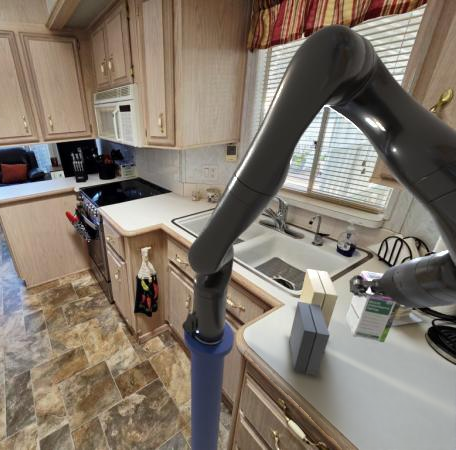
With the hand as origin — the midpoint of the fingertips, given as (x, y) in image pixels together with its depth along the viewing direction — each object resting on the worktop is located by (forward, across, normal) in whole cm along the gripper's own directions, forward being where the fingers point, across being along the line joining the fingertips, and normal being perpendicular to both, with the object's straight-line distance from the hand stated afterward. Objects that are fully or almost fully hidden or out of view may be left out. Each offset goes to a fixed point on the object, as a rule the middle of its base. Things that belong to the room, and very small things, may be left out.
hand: (372, 293), depth 55 cm
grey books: (+14, +10, +17) cm, 25 cm away
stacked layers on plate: (+32, -18, -1) cm, 37 cm away
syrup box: (+5, 0, +8) cm, 10 cm away
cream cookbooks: (+24, +6, +8) cm, 26 cm away
